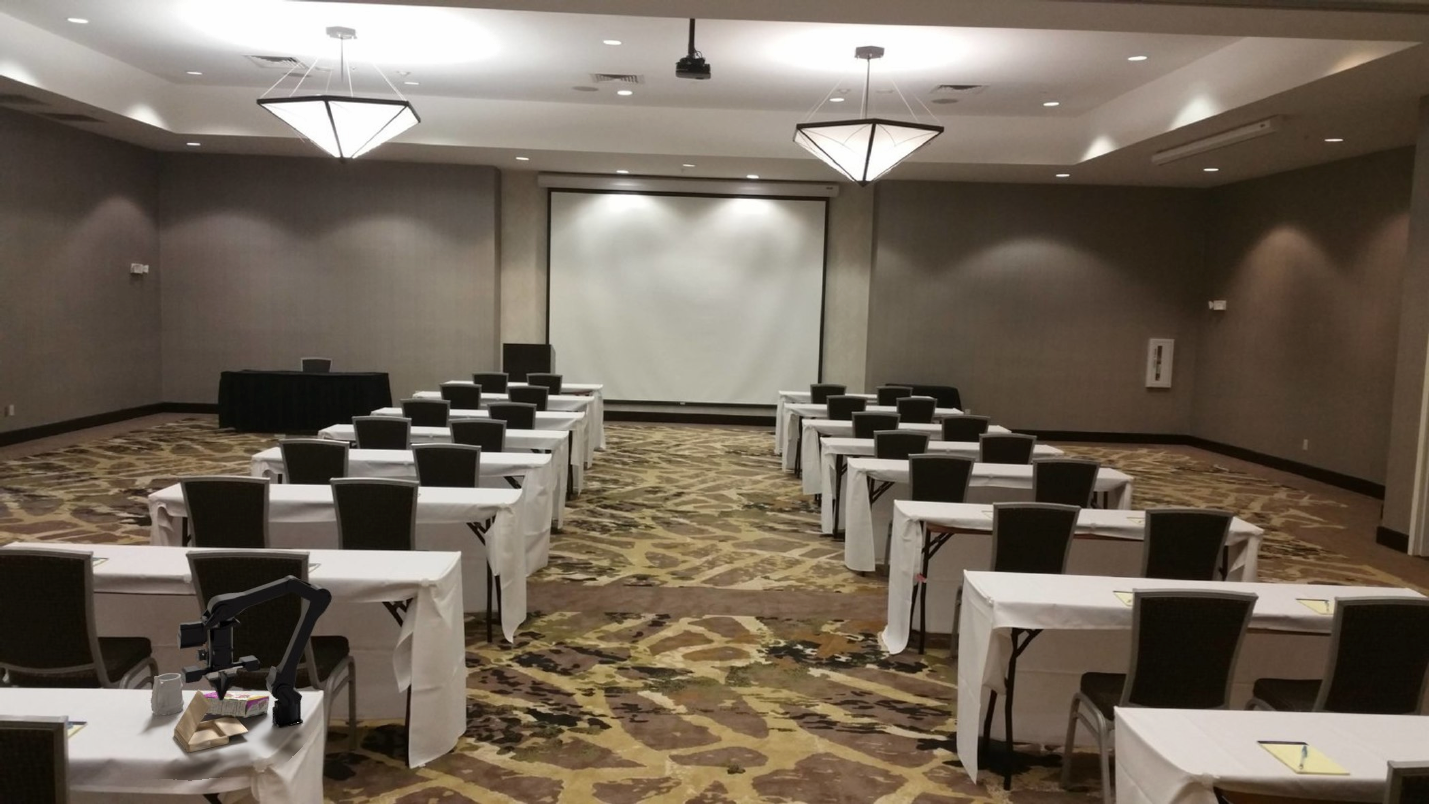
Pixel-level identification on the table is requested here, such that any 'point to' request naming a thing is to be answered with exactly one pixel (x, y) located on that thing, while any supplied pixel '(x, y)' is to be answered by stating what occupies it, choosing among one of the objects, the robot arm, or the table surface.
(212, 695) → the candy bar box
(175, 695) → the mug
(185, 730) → the flap
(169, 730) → the table surface
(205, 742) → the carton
